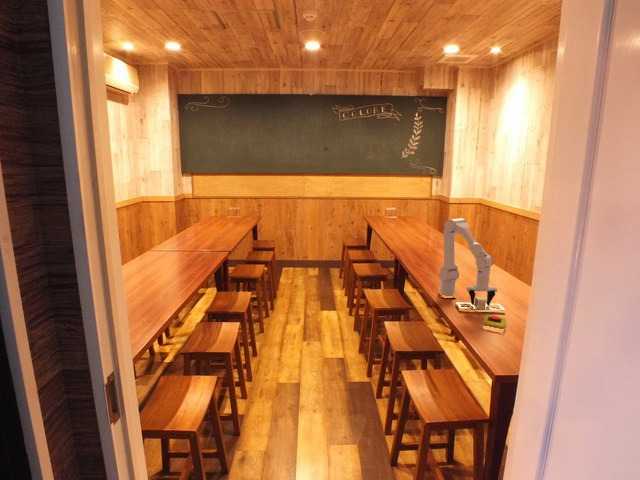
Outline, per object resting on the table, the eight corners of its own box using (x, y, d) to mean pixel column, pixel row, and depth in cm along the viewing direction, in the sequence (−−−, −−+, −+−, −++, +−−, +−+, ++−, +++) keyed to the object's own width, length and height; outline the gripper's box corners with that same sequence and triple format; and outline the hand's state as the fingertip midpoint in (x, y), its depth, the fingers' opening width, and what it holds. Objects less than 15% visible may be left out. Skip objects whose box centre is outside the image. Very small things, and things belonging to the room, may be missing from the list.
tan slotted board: (455, 305, 206) (455, 302, 206) (498, 307, 204) (499, 303, 204) (459, 311, 198) (460, 308, 198) (504, 313, 197) (505, 309, 196)
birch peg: (474, 308, 203) (475, 297, 202) (482, 308, 203) (483, 297, 202) (476, 311, 200) (477, 299, 198) (484, 311, 199) (486, 300, 198)
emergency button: (507, 314, 186) (504, 326, 173) (506, 323, 187) (503, 335, 174) (486, 310, 190) (482, 321, 177) (485, 319, 191) (481, 331, 178)
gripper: (470, 281, 194) (467, 307, 197) (500, 282, 193) (497, 308, 196) (466, 276, 201) (463, 301, 204) (495, 277, 200) (492, 303, 203)
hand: (480, 304), depth 201 cm, fingers open, 7 cm apart
